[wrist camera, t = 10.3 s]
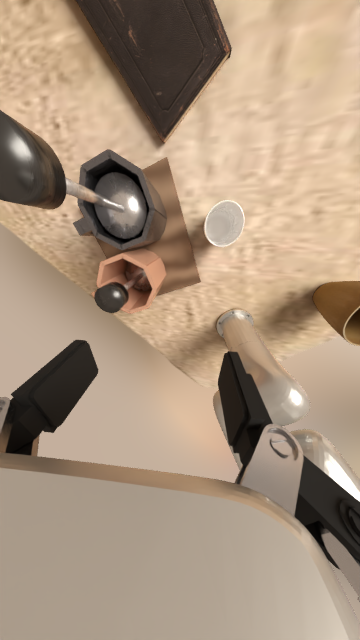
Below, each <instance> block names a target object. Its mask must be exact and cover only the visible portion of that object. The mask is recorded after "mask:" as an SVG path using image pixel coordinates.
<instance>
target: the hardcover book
mask: <svg viewBox="0 0 360 640" xmlns="http://www.w3.org/2000/svg"><path fill="white" fill-rule="evenodd" d="M76 2H77V3H78V5H79V6H80V8H81V10H82V11H83V13H84V15H85V16H86V18H87V19H88V21H89V23H90V24H91V26H92V28H93V29H94V31H95V33H96V34H97V36H98V37H99V39H100V41H101V42H102V44H103V46H104V47H105V49H106V50H107V52H108V54H109V55H110V57H111V59H112V60H113V62H114V63H115V65H116V67H117V68H118V70H119V72H120V73H121V75H122V77H123V78H124V80H125V81H126V83H127V85H128V86H129V88H130V90H131V91H132V93H133V94H134V96H135V98H136V99H137V101H138V103H139V104H140V106H141V107H142V109H143V111H144V112H145V114H146V116H147V117H148V119H149V121H150V122H151V124H152V125H153V127H154V129H155V130H156V132H157V134H158V135H159V137H160V138H161V140H162V142H164V143H165V142H166V141H167V140H168V138H169V137H170V135H171V134H172V133H173V131H174V130H175V129H176V127H177V126H178V125H179V123H180V122H181V120H182V119H183V118H184V116H185V115H186V114H187V112H188V111H189V109H190V108H191V107H192V105H193V104H194V103H195V101H196V100H197V99H198V97H199V96H200V94H201V93H202V92H203V90H204V89H205V88H206V86H207V85H208V84H209V82H210V81H211V79H212V78H213V77H214V75H215V74H216V73H217V71H218V70H219V69H220V67H221V66H222V65H223V63H224V62H225V60H226V59H227V58H230V54H231V49H232V48H231V45H230V43H229V40H228V37H227V35H226V32H225V30H224V27H223V24H222V22H221V19H220V17H219V14H218V11H217V9H216V6H215V4H214V1H213V0H76Z"/></svg>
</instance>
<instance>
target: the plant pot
mask: <svg viewBox="0 0 360 640" xmlns="http://www.w3.org/2000/svg"><path fill="white" fill-rule="evenodd" d="M313 302H314V304H315V305H316V307H317V309H318V310H319V312H320V313H321V315H322V316H323V317H324V318H325V320H326V321H327V322H328V323H329V324H330V325H331V326H332V327H333V328H334V329H335V330H336V331H337V332H338V333H339V334H340V335H341V336H342V337H343V338H344V339H345V340H346V341H347V342H349V343H350V344H353V345H356V346H360V281H342V282H330V283H326V284H324V285H322V286H321V287H319V288H318V289H317V290H316V291H315V293H314V295H313Z"/></svg>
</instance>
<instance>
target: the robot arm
mask: <svg viewBox="0 0 360 640" xmlns="http://www.w3.org/2000/svg"><path fill="white" fill-rule="evenodd" d="M253 325H254V321H253V318H252V316H251V315H250V314H249V313H248V312H247V311H245V310H242V309H233V310H229V311H227V312H225V313H224V314H222V315H221V316H220V318H219V319H218V321H217V325H216V327H217V331H218V333H219V335H220V336H221V337H223V338H225V341H226V344H227V347H228V350H229V351H228V352H227V353H225V354H224V358H223V362H222V366H221V371H220V375H219V379H218V387H219V390H218V391H217V392H216V393H215V395H214V397H213V406H214V410H215V413H216V416H217V419H218V421H219V424H220V426H221V428H222V431H223V433H224V435H225V438H226V440H227V442H228V445H229V447H230V449H231V451H232V454H233V456H234V458H235V460H236V463H237V465H238V467H239V470H240V472H239V474H238V476H237V478H236V481H235V483H231V482H226V481H222V480H216V479H210V478H203V477H197V476H190V475H183V474H176V473H168V472H160V471H152V470H144V469H137V468H129V467H121V466H113V465H105V464H97V463H88V462H79V461H71V460H64V459H55V458H46V457H38V456H37V453H38V444H39V435H40V433H41V432H42V431H44V432H51V433H54V431H55V430H56V428H57V427H59V426H60V425H61V424H62V423H63V422H64V420H65V419H66V418H67V416H68V414H69V413H70V412H71V410H72V409H73V408H74V406H75V405H76V404H77V402H78V401H79V399H80V398H81V396H82V395H83V394H84V392H85V391H86V390H87V388H88V387H89V385H90V384H91V382H92V381H93V380H94V378H95V377H96V376H97V374H98V368H97V365H96V362H95V360H94V357H93V354H92V351H91V349H90V346H89V344H88V343H87V341H84V340H75V341H74V342H73V343H71V344H70V345H69V346H68V347H66V348H65V349H64V350H63V351H62V352H61V353H59V354H58V355H57V356H56V357H55V358H53V359H52V360H51V361H50V362H49V363H47V364H46V365H45V366H44V367H43V368H41V369H40V370H39V371H38V372H37V373H36V374H34V375H33V376H32V377H31V378H30V379H28V380H27V381H26V382H25V383H24V384H23V385H21V386H20V387H19V388H18V389H17V390H15V391H14V392H13V393H12V394H11V395H12V396H13V397H14V398H12V399H11V400H9V398H7V397H0V640H360V623H359V621H358V619H357V616H356V614H355V612H354V610H353V608H352V606H351V604H350V602H349V600H348V598H347V596H346V594H345V592H344V590H343V588H342V586H341V584H340V582H339V580H338V578H337V576H336V574H335V572H334V570H333V568H332V567H331V565H330V563H329V561H330V562H331V563H332V564H333V565H334V566H335V567H336V568H338V569H340V570H341V571H342V573H343V574H344V575H345V577H346V578H347V580H348V581H349V583H350V584H351V586H352V587H353V588H354V590H355V591H356V593H357V594H358V596H359V597H358V600H359V602H360V479H359V478H358V477H357V475H356V474H355V472H354V471H353V470H352V468H351V467H350V466H349V464H348V463H347V462H346V460H345V459H344V458H343V457H342V456H341V454H340V453H339V452H338V450H337V449H336V448H335V447H334V446H333V444H332V443H331V442H330V441H329V440H328V439H327V438H326V437H324V436H323V435H322V434H320V433H319V432H317V431H314V430H309V429H303V430H296V431H291V432H289V431H288V430H286V429H285V428H283V427H282V426H285V425H289V424H292V423H294V422H296V421H298V420H300V419H302V418H303V417H305V416H306V415H307V414H308V412H309V410H310V400H309V398H308V396H307V394H306V393H305V391H304V389H303V388H302V387H301V385H300V384H299V383H298V382H297V381H296V380H295V379H294V378H293V377H292V376H291V375H290V374H289V373H288V372H287V371H286V370H285V369H284V368H283V366H282V365H281V364H280V363H279V362H278V361H277V360H276V358H275V357H274V356H273V354H272V353H271V352H270V350H269V349H268V347H267V346H266V345H265V343H264V342H263V340H262V339H261V338H260V336H259V335H258V333H257V332H256V330H255V329H254V328H253ZM328 560H329V561H328Z"/></svg>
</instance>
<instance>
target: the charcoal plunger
mask: <svg viewBox="0 0 360 640" xmlns="http://www.w3.org/2000/svg"><path fill="white" fill-rule="evenodd" d="M66 194H69V195H72V196H75V197H77V198H80V199H83V200H86V201H89V202H91V203H94V205H95V210H96V213H97V216H98V218H99V220H100V222H101V223H102V225H103V226H104V227H105V229H106V230H107V231H109V232H110V233H111V234H113V235H114V236H116V237H119V238H124V239H127V238H133V237H135V236H137V235H138V234H140V233H141V232H142V230H143V229H144V227H145V224H146V220H147V204H146V200H145V197H144V195H143V193H142V191H141V189H140V188H139V186H138V185H137V184H136V183H135V182H134V181H133V180H132V179H131V178H129V177H128V176H126V175H124V174H121V173H117V172H113V173H109V174H106V175H105V176H103V177H102V178H101V179H100V180H99V182H98V184H97V186H96V189H95V192H94V191H92V190H90V189H88V188H86V187H84V186H82V185H80V184H78V183H76V182H74V181H72V180H70V179H68V178H65V174H64V171H63V168H62V165H61V163H60V161H59V159H58V157H57V156H56V154H55V153H54V151H53V150H52V148H51V147H50V146H49V145H48V144H47V143H46V142H45V141H44V140H43V139H42V138H41V137H39V136H38V135H36V134H35V133H33V132H32V131H30V130H29V129H27V128H26V127H24V126H23V125H22V124H20V123H19V122H17V121H16V120H14V119H13V118H11V117H10V116H8V115H7V114H5V113H4V112H2V111H1V110H0V200H4V201H8V202H13V203H18V204H23V205H28V206H33V207H38V208H43V209H55V208H58V207H59V206H60V205H61V204H62V203H63V201H64V199H65V196H66Z"/></svg>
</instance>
